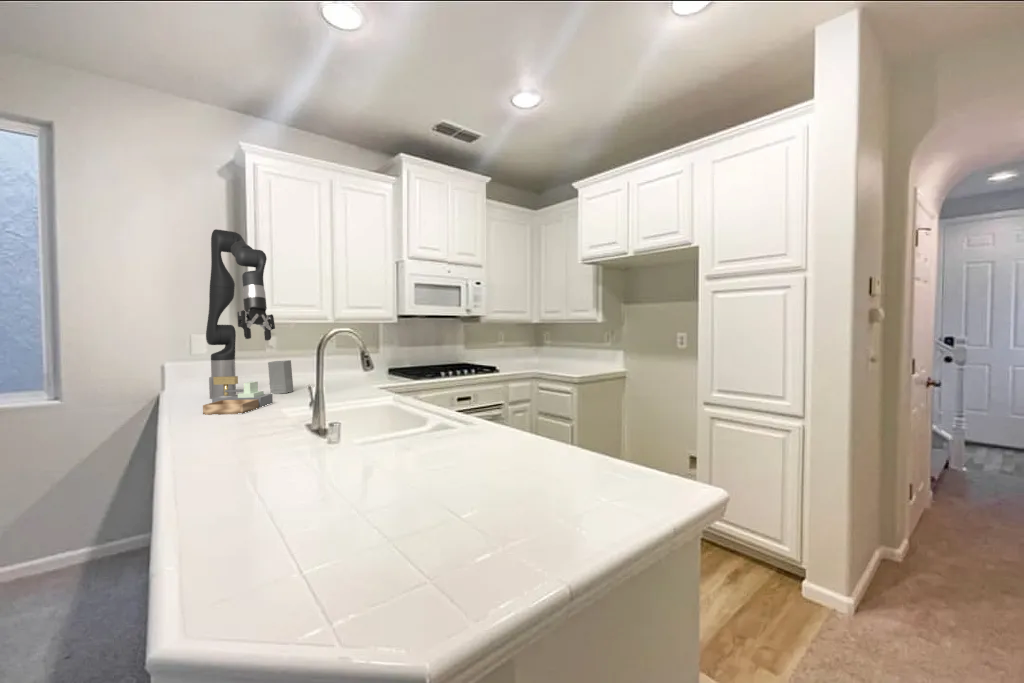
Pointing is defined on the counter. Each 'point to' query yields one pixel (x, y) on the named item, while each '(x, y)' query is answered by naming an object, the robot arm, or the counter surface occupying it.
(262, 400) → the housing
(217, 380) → the key
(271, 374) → the skincare box
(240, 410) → the tray
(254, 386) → the cover
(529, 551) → the counter surface
